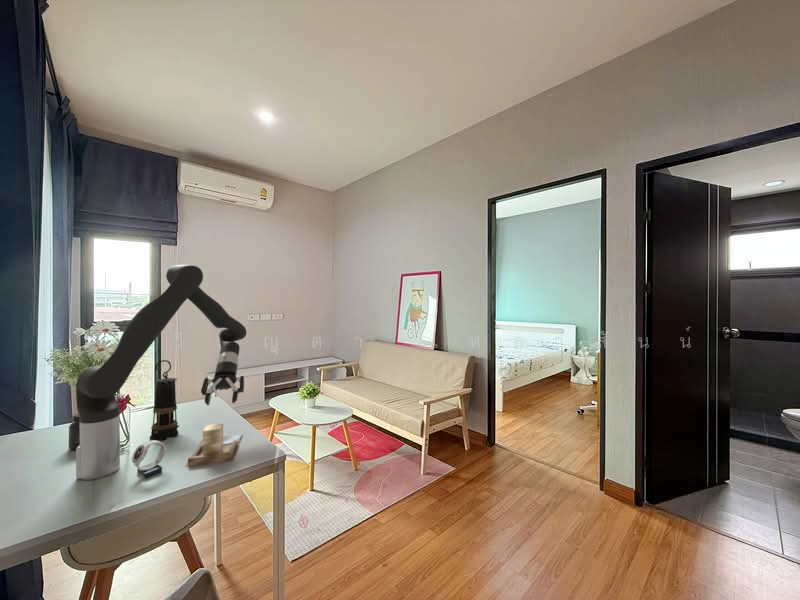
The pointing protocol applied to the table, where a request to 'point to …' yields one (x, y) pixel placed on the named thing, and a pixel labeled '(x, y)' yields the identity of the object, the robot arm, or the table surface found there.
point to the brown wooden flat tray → (228, 453)
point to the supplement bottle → (74, 433)
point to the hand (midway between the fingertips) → (220, 403)
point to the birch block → (213, 439)
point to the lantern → (164, 408)
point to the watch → (153, 467)
